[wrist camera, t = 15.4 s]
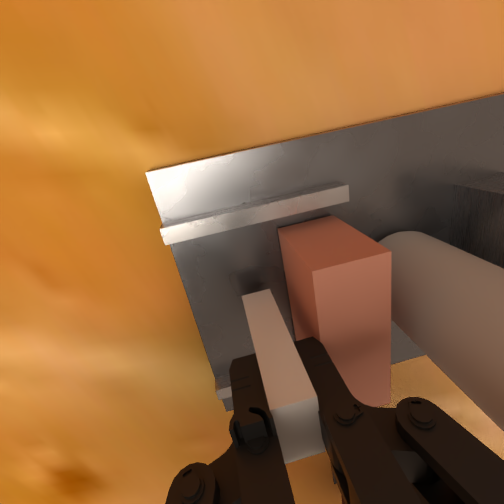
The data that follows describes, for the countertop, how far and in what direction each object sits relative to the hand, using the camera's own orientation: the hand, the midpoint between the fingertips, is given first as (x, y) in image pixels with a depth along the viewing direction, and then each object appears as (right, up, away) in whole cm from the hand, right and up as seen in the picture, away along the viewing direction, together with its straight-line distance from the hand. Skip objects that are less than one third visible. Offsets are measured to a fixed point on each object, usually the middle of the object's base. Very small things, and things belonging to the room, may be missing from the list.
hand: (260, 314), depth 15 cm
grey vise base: (+8, +3, +3) cm, 9 cm away
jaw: (+3, +1, +1) cm, 4 cm away
